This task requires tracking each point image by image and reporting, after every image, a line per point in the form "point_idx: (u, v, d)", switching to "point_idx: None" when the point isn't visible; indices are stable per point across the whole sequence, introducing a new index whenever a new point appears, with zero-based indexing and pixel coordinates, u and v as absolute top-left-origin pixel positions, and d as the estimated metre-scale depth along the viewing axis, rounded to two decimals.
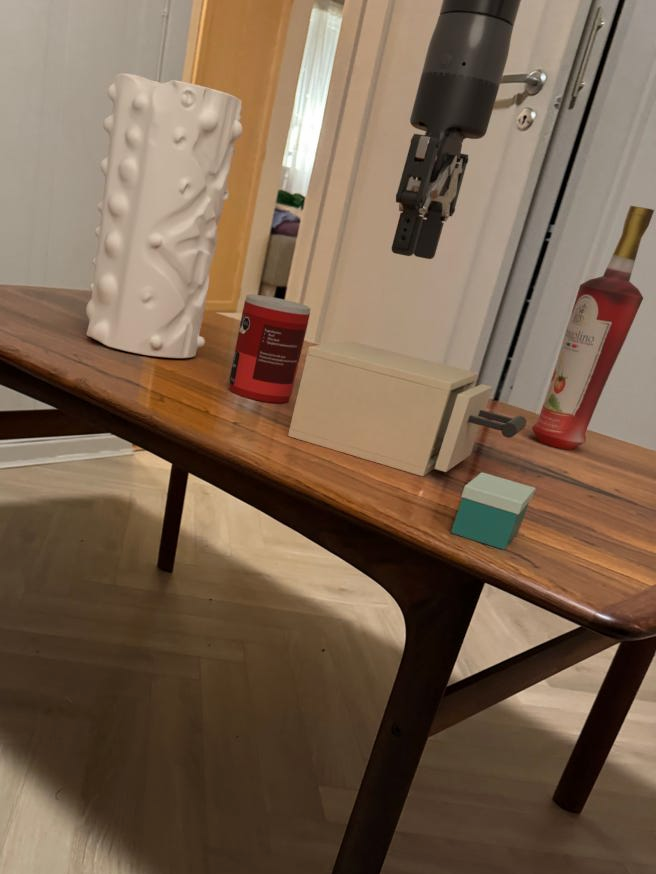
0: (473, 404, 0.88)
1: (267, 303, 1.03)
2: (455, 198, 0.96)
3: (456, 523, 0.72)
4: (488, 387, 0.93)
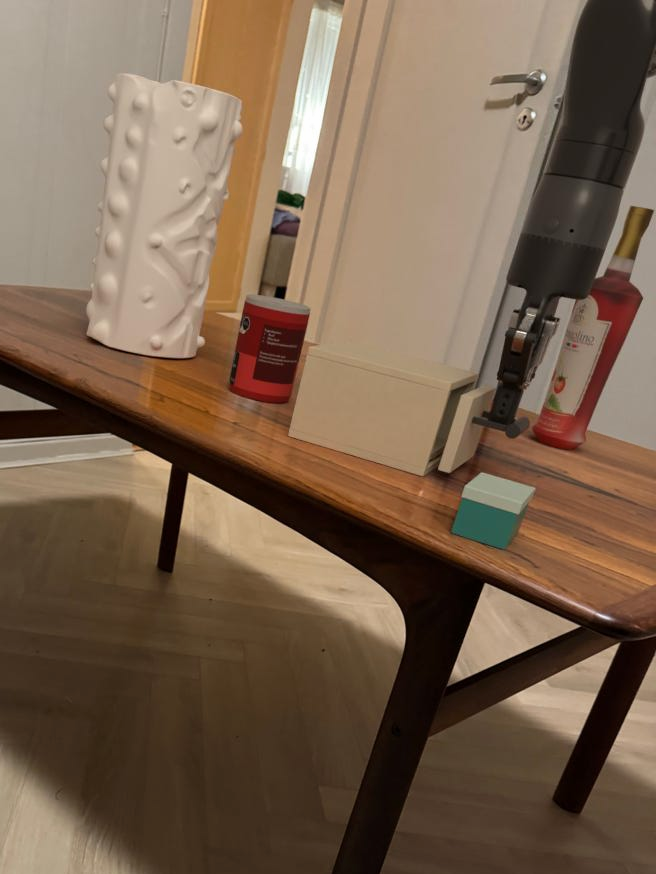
0: (477, 405, 0.87)
1: (267, 303, 1.03)
2: None
3: (456, 523, 0.72)
4: (491, 388, 0.93)
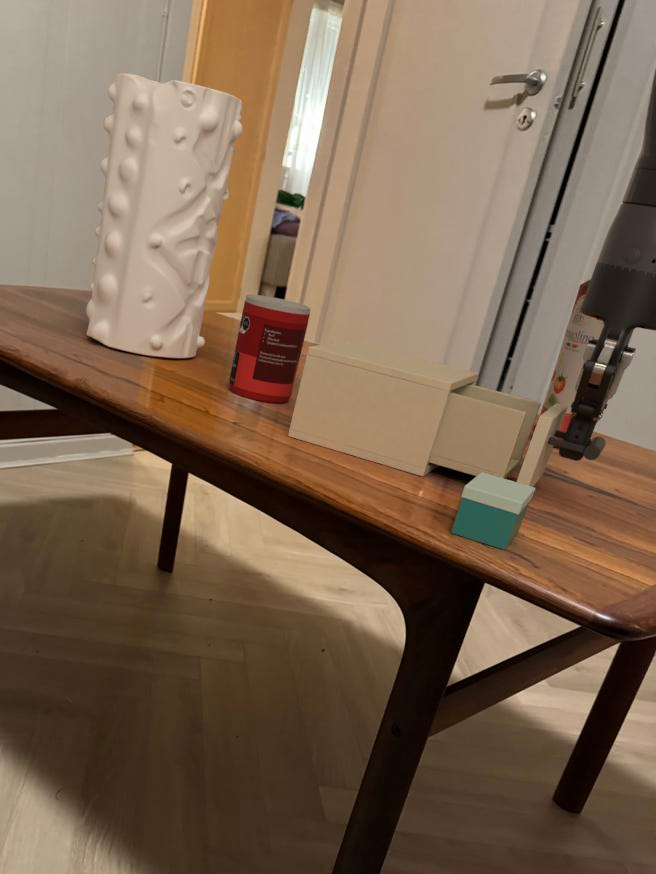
0: (553, 425, 0.85)
1: (267, 303, 1.03)
2: None
3: (456, 523, 0.72)
4: (564, 406, 0.90)
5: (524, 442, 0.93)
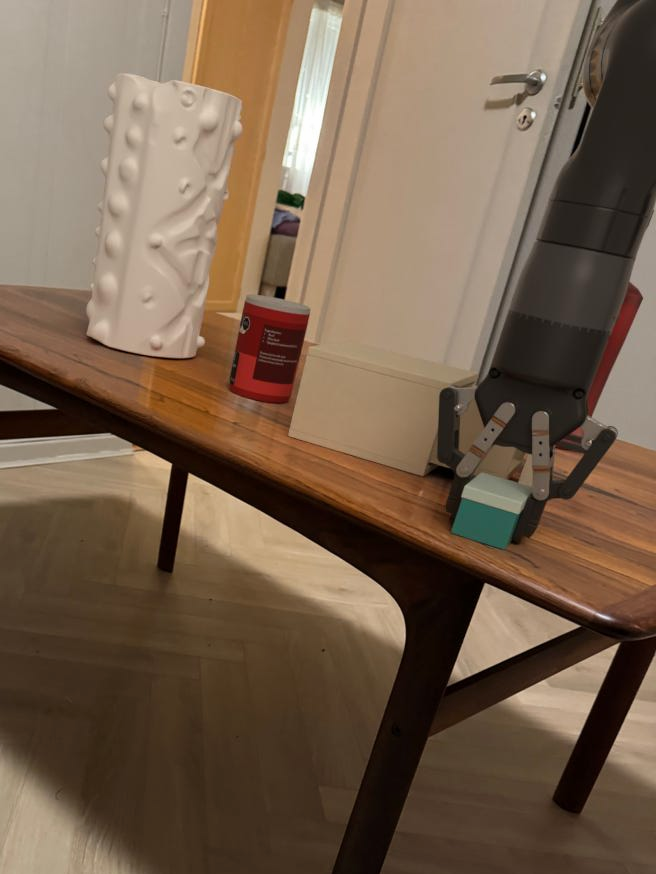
0: None
1: (267, 303, 1.03)
2: (573, 477, 0.69)
3: (456, 523, 0.72)
4: None
5: None
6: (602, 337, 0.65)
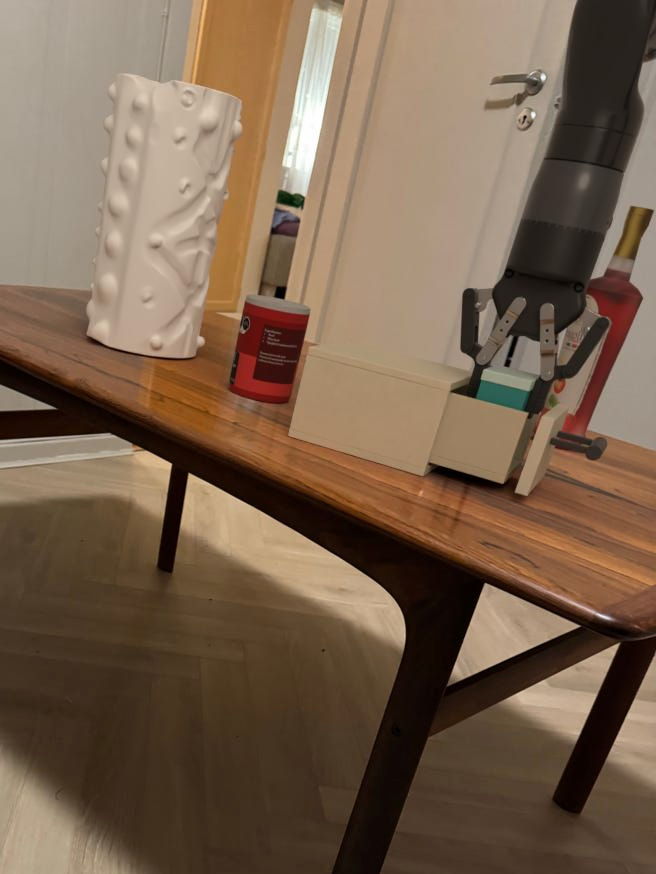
0: (555, 426, 0.85)
1: (267, 303, 1.03)
2: (574, 359, 0.83)
3: None
4: (566, 407, 0.90)
5: (526, 442, 0.93)
6: (598, 238, 0.79)
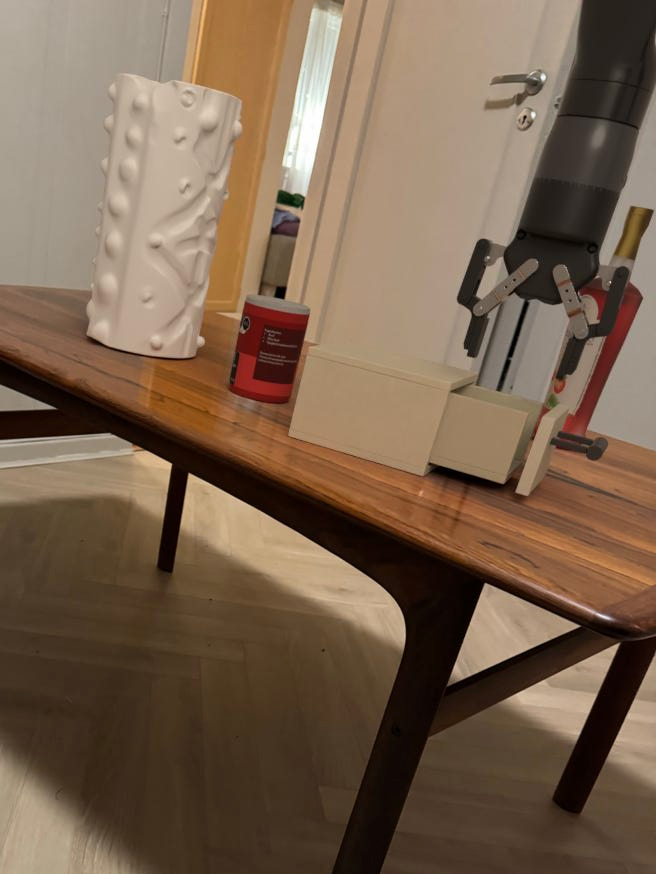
0: (556, 426, 0.85)
1: (267, 303, 1.03)
2: (605, 315, 0.81)
3: None
4: (566, 407, 0.90)
5: (526, 443, 0.93)
6: (612, 196, 0.78)
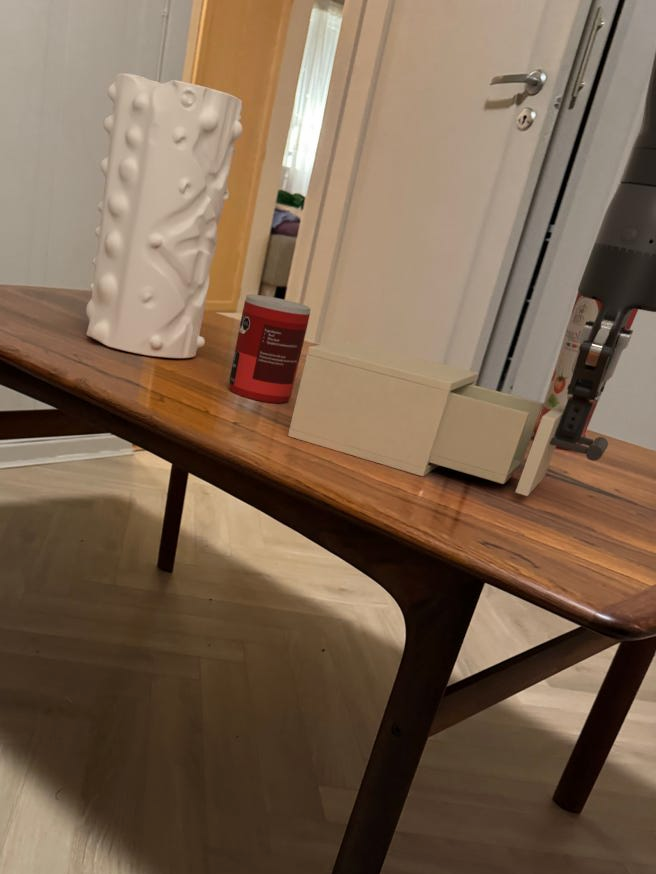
0: (556, 426, 0.85)
1: (267, 303, 1.03)
2: None
3: None
4: None
5: (526, 443, 0.93)
6: None
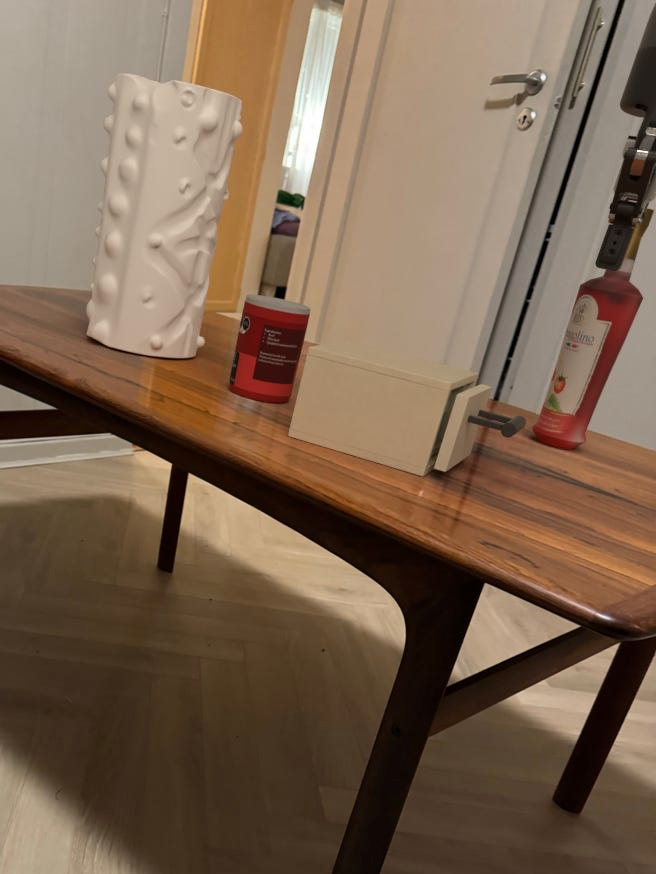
0: (472, 404, 0.88)
1: (267, 303, 1.03)
2: (648, 203, 0.84)
3: None
4: (487, 387, 0.93)
5: None
6: None
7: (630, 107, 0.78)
